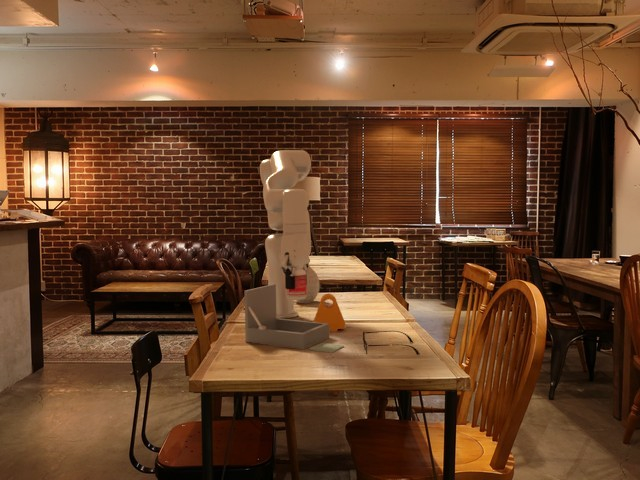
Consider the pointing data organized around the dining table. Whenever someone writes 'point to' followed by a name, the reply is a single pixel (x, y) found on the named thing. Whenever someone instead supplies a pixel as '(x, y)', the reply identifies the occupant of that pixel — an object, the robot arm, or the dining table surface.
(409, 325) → the dining table surface
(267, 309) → the case
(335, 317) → the bracket
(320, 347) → the mat
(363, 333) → the eyeglasses
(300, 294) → the pill bottle
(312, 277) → the vase
